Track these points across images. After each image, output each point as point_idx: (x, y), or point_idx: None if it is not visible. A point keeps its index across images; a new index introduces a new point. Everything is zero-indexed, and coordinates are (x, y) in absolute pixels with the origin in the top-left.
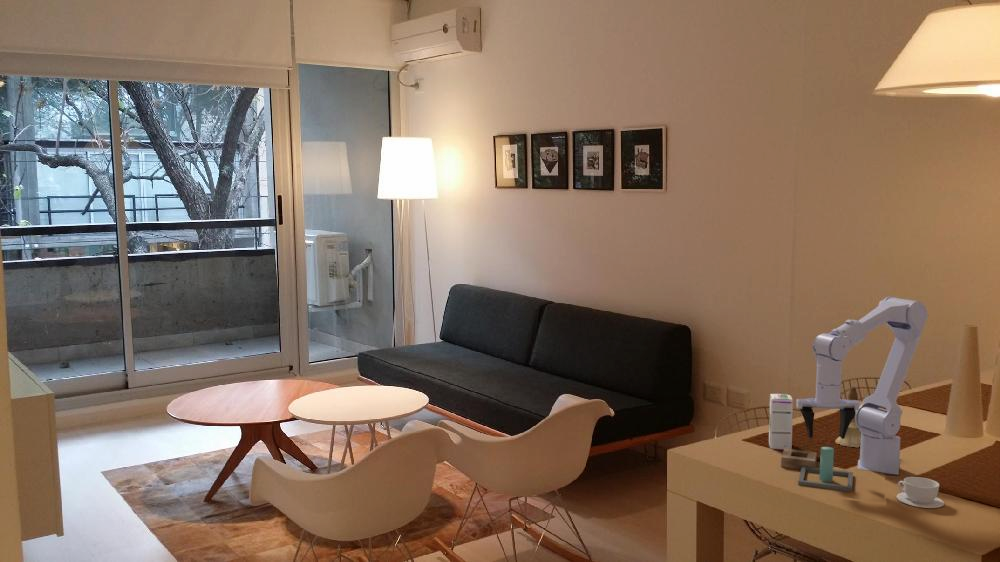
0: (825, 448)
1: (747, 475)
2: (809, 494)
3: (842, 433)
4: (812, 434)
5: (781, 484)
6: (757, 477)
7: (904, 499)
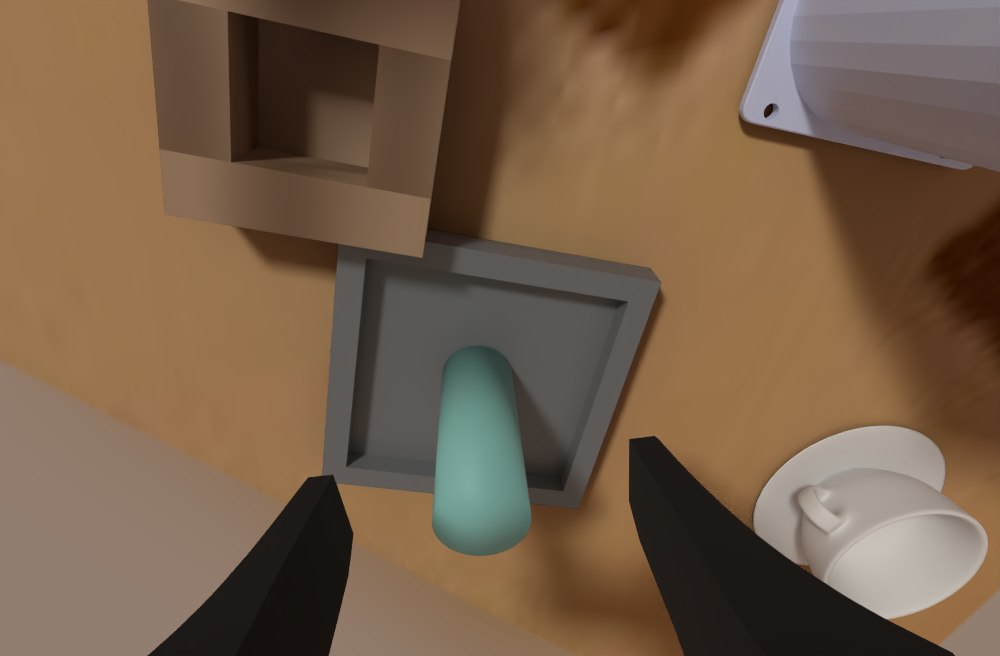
0: (467, 521)
1: (28, 361)
2: (381, 529)
3: (645, 552)
4: (344, 574)
5: (244, 447)
6: (95, 379)
7: (782, 507)
